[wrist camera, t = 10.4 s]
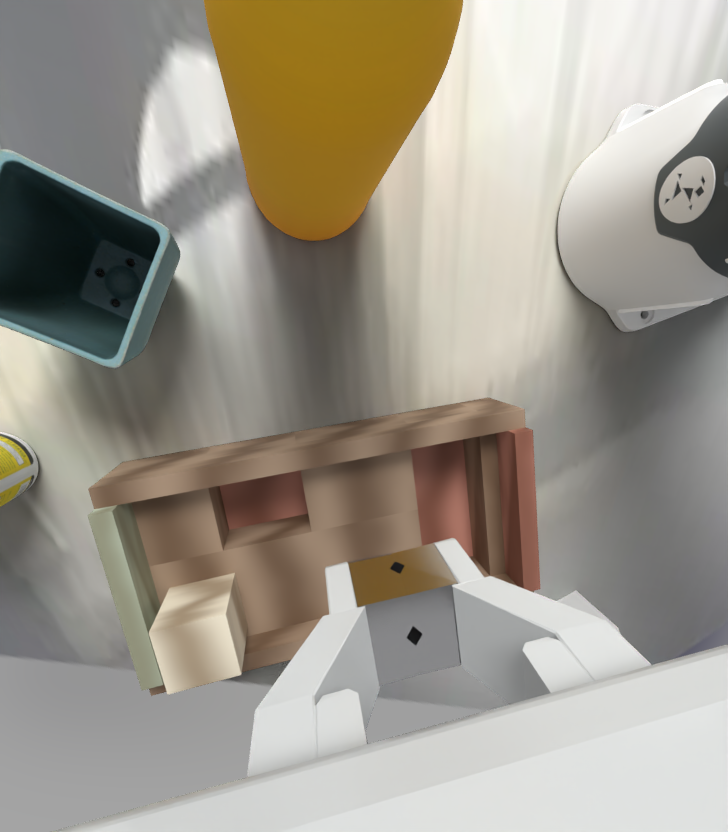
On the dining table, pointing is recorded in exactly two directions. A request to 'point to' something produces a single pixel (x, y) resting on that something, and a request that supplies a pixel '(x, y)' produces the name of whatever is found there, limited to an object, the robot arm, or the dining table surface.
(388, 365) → the dining table surface
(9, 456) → the supplement bottle
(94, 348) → the flower pot
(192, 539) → the tray
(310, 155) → the beer bottle
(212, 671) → the ash block
